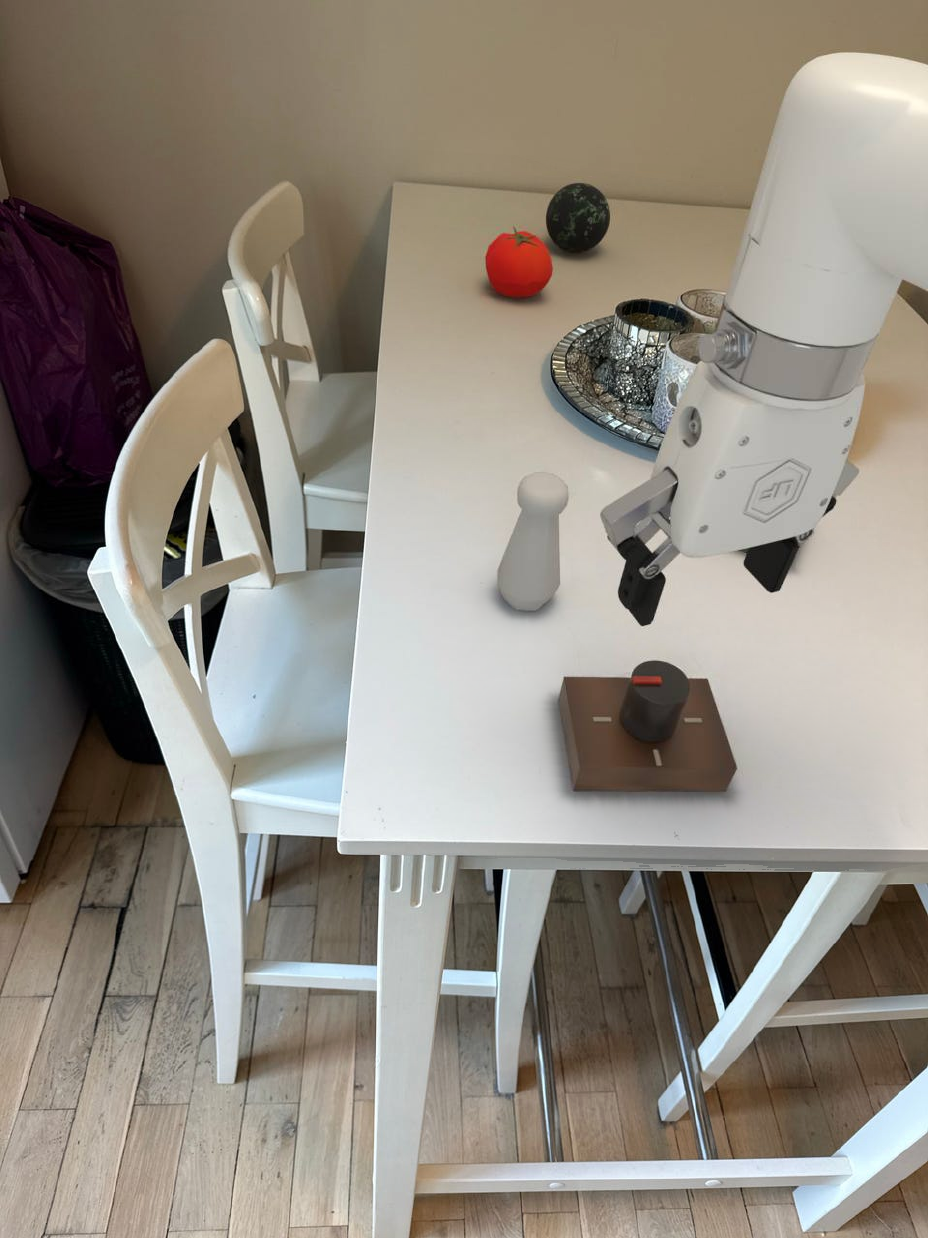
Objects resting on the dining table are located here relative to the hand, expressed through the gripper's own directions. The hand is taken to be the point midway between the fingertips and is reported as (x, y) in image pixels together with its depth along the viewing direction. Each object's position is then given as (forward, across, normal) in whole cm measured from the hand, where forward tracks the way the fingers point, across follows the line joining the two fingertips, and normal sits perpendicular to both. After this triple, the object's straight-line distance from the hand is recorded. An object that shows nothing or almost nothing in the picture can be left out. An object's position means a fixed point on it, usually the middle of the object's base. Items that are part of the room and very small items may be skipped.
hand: (698, 594), depth 56 cm
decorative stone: (+18, +43, +92) cm, 103 cm away
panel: (+18, +1, +2) cm, 18 cm away
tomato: (+18, +27, +80) cm, 86 cm away
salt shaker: (+18, 0, +20) cm, 27 cm away
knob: (+15, +1, +2) cm, 15 cm away
